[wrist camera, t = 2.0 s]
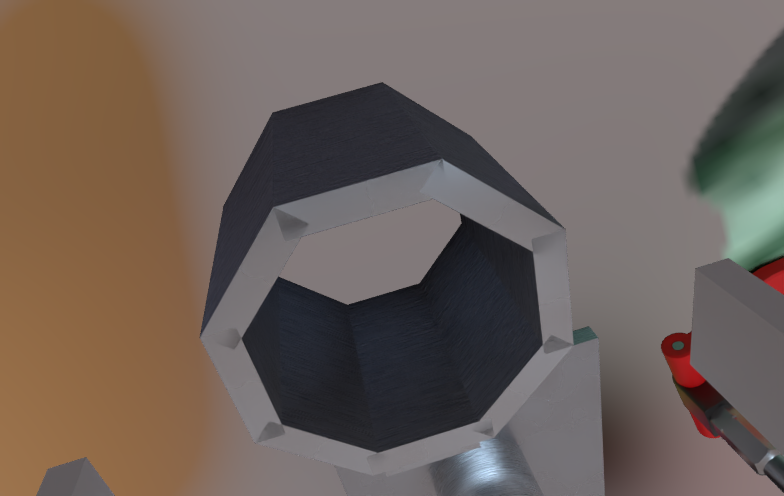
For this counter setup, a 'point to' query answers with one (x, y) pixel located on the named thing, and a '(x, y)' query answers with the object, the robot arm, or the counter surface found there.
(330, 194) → the grey piece
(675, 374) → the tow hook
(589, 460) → the square plate with knob
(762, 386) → the robot arm
